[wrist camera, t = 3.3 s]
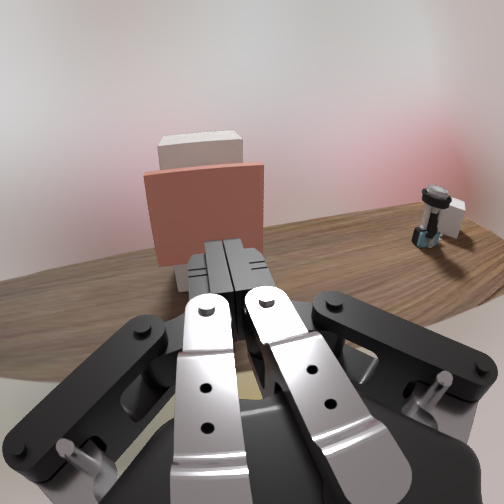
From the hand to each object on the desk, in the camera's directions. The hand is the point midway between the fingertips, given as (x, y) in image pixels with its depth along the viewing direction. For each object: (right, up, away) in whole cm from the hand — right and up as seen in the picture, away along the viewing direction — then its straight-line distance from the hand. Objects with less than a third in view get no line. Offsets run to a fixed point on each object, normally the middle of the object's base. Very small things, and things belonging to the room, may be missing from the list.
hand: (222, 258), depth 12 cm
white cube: (+39, +5, +37) cm, 54 cm away
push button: (+31, +2, +31) cm, 44 cm away
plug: (-3, +1, +16) cm, 16 cm away
